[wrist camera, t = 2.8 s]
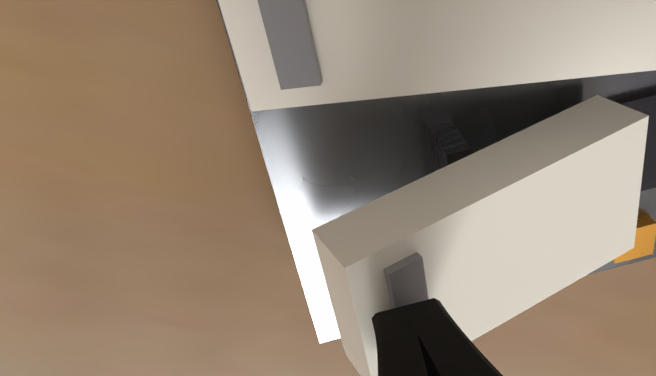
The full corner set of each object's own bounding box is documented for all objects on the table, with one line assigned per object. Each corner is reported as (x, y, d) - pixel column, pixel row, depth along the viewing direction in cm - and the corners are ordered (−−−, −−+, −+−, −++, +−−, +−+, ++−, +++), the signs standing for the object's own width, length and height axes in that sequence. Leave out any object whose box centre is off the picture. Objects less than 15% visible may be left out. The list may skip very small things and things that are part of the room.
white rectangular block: (596, 94, 15) (656, 118, 14) (590, 220, 17) (640, 251, 16) (311, 230, 13) (349, 273, 12) (344, 353, 15) (380, 402, 14)
